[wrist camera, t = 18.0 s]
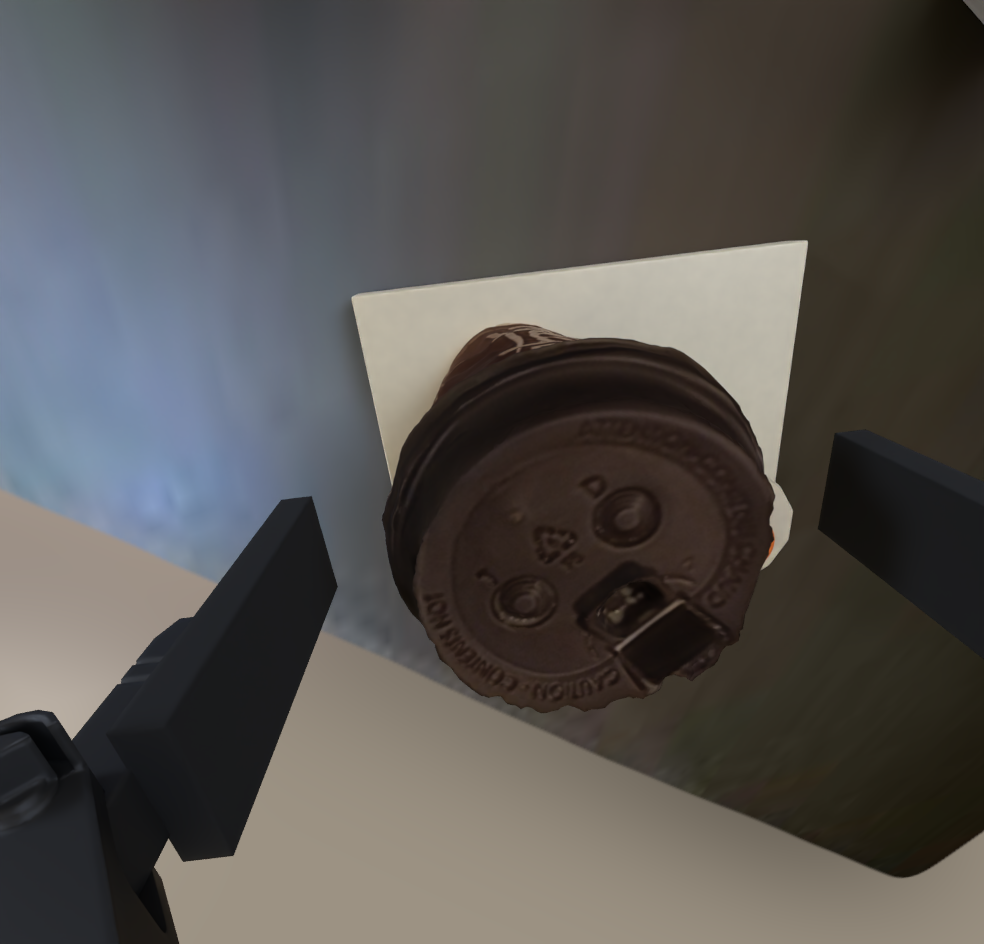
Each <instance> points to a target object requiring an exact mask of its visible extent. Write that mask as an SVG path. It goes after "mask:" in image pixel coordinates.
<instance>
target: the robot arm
mask: <svg viewBox="0 0 984 944" xmlns="http://www.w3.org/2000/svg"><path fill="white" fill-rule="evenodd" d="M818 529H819V530H820V531H821V532H823V533H824V534H825V535H827V536H828V537H829V538H830V539H832V540H833V541H834V542H835V543H837V544H838V545H839V546H841V547H842V548H843V549H844V550H846V551H847V552H848V553H849V554H851V555H852V556H853V557H855V558H856V559H857V560H858V561H860V562H861V563H862V564H863V565H865V566H866V567H867V568H869V569H870V570H871V571H872V572H874V573H875V574H876V575H877V576H879V577H880V578H881V579H883V580H884V581H885V582H886V583H888V584H889V585H890V586H891V587H893V588H894V589H895V590H896V591H898V592H899V593H900V594H902V595H903V596H904V597H905V598H907V599H908V600H909V601H910V602H912V603H913V604H914V605H916V606H917V607H918V608H919V609H921V610H922V611H923V612H924V613H926V614H927V615H928V616H930V617H931V618H932V619H933V620H935V621H936V622H937V623H938V624H940V625H941V626H942V627H944V628H945V629H946V630H947V631H949V632H950V633H951V634H952V635H954V636H955V637H956V638H958V639H959V640H960V641H961V642H963V643H964V644H965V645H966V646H968V647H969V648H970V649H971V650H973V651H974V652H975V653H977V654H978V655H979V656H980V657H982V658H983V659H984V482H983V481H980V480H978V479H976V478H974V477H971V476H969V475H967V474H965V473H962V472H960V471H958V470H956V469H953V468H951V467H949V466H947V465H944V464H942V463H940V462H938V461H935V460H933V459H931V458H929V457H926V456H924V455H922V454H920V453H917V452H915V451H913V450H911V449H908V448H906V447H904V446H902V445H899V444H897V443H895V442H893V441H890V440H888V439H886V438H884V437H881V436H879V435H877V434H874V433H872V432H870V431H868V430H857V431H849V432H841V433H835V436H834V441H833V447H832V453H831V458H830V464H829V470H828V475H827V481H826V487H825V492H824V498H823V504H822V509H821V515H820V521H819V526H818ZM337 587H338V586H337V583H336V579H335V576H334V572H333V569H332V565H331V562H330V558H329V555H328V551H327V548H326V544H325V541H324V538H323V534H322V531H321V527H320V524H319V520H318V517H317V513H316V510H315V506H314V503H313V499H312V496H310V497H302V498H293V499H285V500H281V501H280V502H279V504H278V505H277V506H276V508H275V509H274V510H273V512H272V513H271V514H270V516H269V517H268V518H267V520H266V521H265V522H264V524H263V525H262V526H261V528H260V529H259V530H258V532H257V533H256V534H255V536H254V537H253V538H252V540H251V541H250V542H249V544H248V545H247V546H246V548H245V549H244V550H243V552H242V553H241V554H240V556H239V557H238V558H237V560H236V561H235V562H234V564H233V565H232V566H231V568H230V569H229V570H228V572H227V573H226V574H225V576H224V577H223V578H222V580H221V581H220V582H219V584H218V585H217V586H216V588H215V589H214V590H213V592H212V593H211V594H210V596H209V597H208V598H207V600H206V601H205V602H204V604H203V605H202V606H201V608H200V609H199V610H198V612H197V613H196V614H195V616H194V617H190V618H182V619H179V620H178V621H176V622H175V623H174V624H173V625H171V626H170V627H169V628H167V629H166V630H165V631H163V632H162V633H161V634H160V635H158V636H157V637H156V638H155V639H154V640H153V641H152V642H151V643H150V645H149V646H148V647H147V648H146V650H145V651H144V652H143V653H142V654H141V656H140V657H139V658H138V659H137V661H136V662H137V663H136V665H133V666H132V667H131V668H130V669H129V670H128V672H127V673H126V674H125V675H124V677H123V678H122V679H121V684H117V685H116V687H115V688H114V689H113V690H112V692H111V693H110V694H109V695H108V696H107V698H106V699H105V700H104V701H103V703H102V704H101V705H100V706H99V708H98V709H97V710H96V711H95V712H94V714H93V715H92V716H91V717H90V719H89V720H88V721H87V722H86V724H85V725H84V726H83V727H82V729H81V730H80V731H79V732H78V733H77V735H76V736H75V737H74V738H73V740H71V739H70V737H69V736H68V734H67V733H66V731H65V729H64V728H63V726H62V725H61V723H60V722H59V720H58V719H57V717H56V716H55V715H54V713H53V712H48V711H42V710H35V711H30V712H25V713H20V714H16V715H14V716H11V717H9V718H7V719H4V720H1V721H0V944H179V941H178V937H177V934H176V930H175V926H174V923H173V919H172V915H171V912H170V908H169V904H168V901H167V897H166V893H165V889H164V886H163V882H162V879H161V877H160V876H159V874H158V873H157V871H156V869H155V868H154V866H155V863H156V861H157V860H158V858H159V856H160V854H161V852H162V850H163V848H164V846H165V844H166V842H167V840H168V838H169V840H170V841H171V843H172V844H173V846H174V848H175V849H176V851H177V852H178V854H179V856H180V858H181V859H182V861H183V862H185V861H194V860H202V859H210V858H218V857H227V856H233V855H234V853H235V850H236V848H237V845H238V842H239V840H240V837H241V835H242V832H243V830H244V827H245V825H246V822H247V819H248V817H249V814H250V812H251V809H252V806H253V804H254V801H255V799H256V796H257V794H258V791H259V788H260V786H261V783H262V780H263V778H264V775H265V773H266V770H267V768H268V765H269V763H270V760H271V757H272V755H273V752H274V750H275V747H276V744H277V742H278V739H279V736H280V734H281V732H282V729H283V726H284V724H285V721H286V718H287V716H288V713H289V711H290V708H291V706H292V703H293V700H294V698H295V695H296V693H297V690H298V687H299V685H300V682H301V680H302V677H303V675H304V672H305V669H306V667H307V664H308V662H309V659H310V656H311V654H312V651H313V649H314V646H315V643H316V641H317V638H318V636H319V633H320V631H321V628H322V626H323V623H324V620H325V618H326V615H327V613H328V610H329V607H330V605H331V602H332V600H333V597H334V595H335V592H336V589H337Z"/></svg>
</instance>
